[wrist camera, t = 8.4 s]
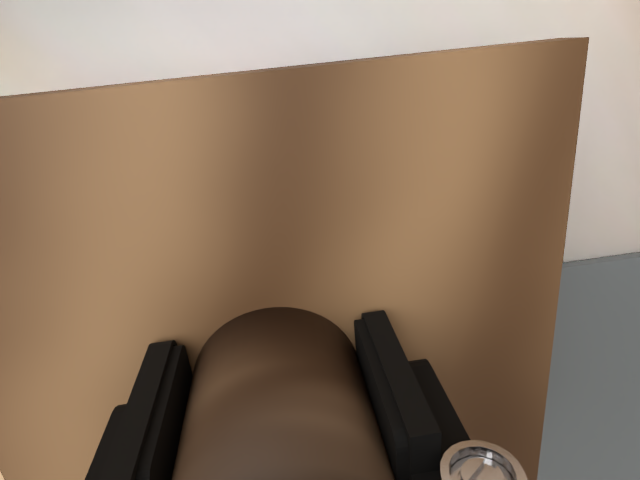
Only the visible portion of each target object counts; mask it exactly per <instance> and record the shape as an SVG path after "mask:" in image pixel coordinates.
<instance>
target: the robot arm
mask: <svg viewBox="0 0 640 480" xmlns="http://www.w3.org/2000/svg"><path fill="white" fill-rule="evenodd" d="M354 332H355V345H356V354H357V357H358V361H359V364H360V367H361V370H362V374H363V377H364V380H365V383H366V386H367V390H368V393H369V396H370V399H371V403H372V406H373V409H374V412H375V415H376V419H377V422H378V425H379V428H380V432H381V435H382V438H383V441H384V445H385V448H386V451H387V454H388V457H389V461H390V464H391V467H392V470H393V474H394V477H395V480H528V479H527V477H526V474H525V471H524V470H523V468H522V466H521V464H520V463H519V461H518V460H517V459H516V458H515V457H514V456H513V455H512V454H511V453H510V452H508V451H507V450H505V449H503V448H502V447H500V446H498V445H496V444H493V443H490V442H487V441H479V440H470V438H469V436H468V434H467V432H466V430H465V428H464V426H463V425H462V423H461V421H460V419H459V417H458V415H457V413H456V411H455V409H454V408H453V406H452V404H451V402H450V400H449V398H448V396H447V394H446V393H445V391H444V389H443V387H442V385H441V383H440V381H439V379H438V377H437V376H436V374H435V372H434V370H433V368H432V366H431V364H430V363H429V361H428V360H427V359H420V360H413V361H408V359H407V357H406V355H405V353H404V351H403V349H402V347H401V344H400V342H399V340H398V338H397V336H396V334H395V332H394V329H393V327H392V325H391V323H390V321H389V319H388V317H387V314H386V312H385V311H384V310H380V311H373V312H366V313H362V314H361V319H359V320H354ZM192 377H193V375H192V371H191V367H190V363H189V359H188V355H187V351H186V348H185V346H184V345H178V346H177V343H176V341H175V340H170V341H163V342H156V343H151V344H149V346H148V348H147V351H146V354H145V356H144V359H143V362H142V364H141V367H140V370H139V372H138V375H137V378H136V380H135V383H134V386H133V388H132V391H131V394H130V396H129V399H128V402H127V404H122V405H117V406H116V407H115V408H114V410H113V411H112V413H111V416H110V418H109V421H108V423H107V426H106V428H105V431H104V433H103V436H102V438H101V440H100V443H99V445H98V448H97V450H96V453H95V455H94V458H93V460H92V463H91V465H90V468H89V470H88V473H87V475H86V477H85V480H171V479H172V474H173V469H174V464H175V459H176V454H177V450H178V445H179V440H180V435H181V430H182V425H183V420H184V416H185V411H186V406H187V401H188V396H189V391H190V386H191V382H192Z"/></svg>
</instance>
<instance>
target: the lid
mask: <svg viewBox="0 0 640 480" xmlns="http://www.w3.org/2000/svg"><path fill="white" fill-rule="evenodd" d="M588 43H589V37H584V38H555V39H546V40H536V41H527V42H517V43H508V44H498V45H488V46H479V47H469V48H460V49H450V50H441V51H431V52H421V53H412V54H402V55H393V56H383V57H374V58H364V59H354V60H345V61H335V62H326V63H316V64H307V65H297V66H288V67H278V68H268V69H259V70H249V71H240V72H230V73H221V74H211V75H201V76H192V77H182V78H173V79H163V80H154V81H144V82H134V83H125V84H115V85H106V86H96V87H87V88H77V89H67V90H58V91H48V92H39V93H29V94H20V95H10V96H0V471H1V473H2V475H3V477H4V479H5V480H85V477H86V475H87V473H88V470H89V468H90V465H91V463H92V460H93V458H94V455H95V453H96V450H97V448H98V445H99V443H100V440H101V438H102V436H103V433H104V431H105V428H106V426H107V423H108V421H109V418H110V416H111V413H112V411H113V410H114V408H115V407H116V406H117V405H122V404H127V402H128V399H129V396H130V394H131V391H132V388H133V386H134V383H135V380H136V378H137V375H138V372H139V370H140V367H141V364H142V362H143V359H144V356H145V354H146V351H147V348H148V346H149V344H151V343H156V342H163V341H170V340H175V341H176V343H177V346H178V345H184V346H185V348H186V351H187V355H188V359H189V363H190V367H191V371H192V375H193V377H192V382H191V386H190V391H189V396H188V401H187V406H186V411H185V416H184V420H183V425H182V430H181V435H180V440H179V445H178V450H177V454H176V459H175V464H174V469H173V474H172V479H171V480H395V477H394V474H393V470H392V467H391V464H390V461H389V457H388V454H387V451H386V448H385V445H384V441H383V438H382V435H381V432H380V428H379V425H378V422H377V419H376V415H375V412H374V409H373V406H372V403H371V399H370V396H369V393H368V390H367V386H366V383H365V380H364V377H363V374H362V370H361V367H360V364H359V361H358V357H357V354H356V345H355V332H354V320H359V319H361V314H362V313H366V312H373V311H380V310H384V311H385V312H386V314H387V317H388V319H389V321H390V323H391V325H392V327H393V329H394V332H395V334H396V336H397V338H398V340H399V342H400V344H401V347H402V349H403V351H404V353H405V355H406V357H407V359H408V361H413V360H420V359H427V360H428V361H429V363H430V364H431V366H432V368H433V370H434V372H435V374H436V376H437V377H438V379H439V381H440V383H441V385H442V387H443V389H444V391H445V393H446V394H447V396H448V398H449V400H450V402H451V404H452V406H453V408H454V409H455V411H456V413H457V415H458V417H459V419H460V421H461V423H462V425H463V426H464V428H465V430H466V432H467V434H468V436H469V438H470V440H479V441H487V442H490V443H493V444H496V445H498V446H500V447H502V448H503V449H505V450H507V451H508V452H510V453H511V454H512V455H513V456H514V457H515V458H516V459H517V460H518V461H519V463H520V464H521V466H522V468H523V470H524V471H525V474H526V477H527V479H528V480H537V475H538V467H539V458H540V450H541V441H542V433H543V424H544V416H545V408H546V399H547V391H548V382H549V374H550V365H551V357H552V348H553V340H554V331H555V323H556V314H557V306H558V297H559V289H560V280H561V272H562V263H563V255H564V246H565V238H566V229H567V221H568V212H569V204H570V195H571V187H572V178H573V170H574V161H575V153H576V144H577V136H578V127H579V119H580V111H581V102H582V94H583V85H584V77H585V68H586V60H587V51H588Z"/></svg>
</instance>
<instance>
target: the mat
mask: <svg viewBox="0 0 640 480" xmlns="http://www.w3.org/2000/svg"><path fill="white" fill-rule="evenodd" d="M537 480H640V252H637V253H630V254H623V255H616V256H609V257H602V258H595V259H587V260H580V261H573V262H566V263H562V272H561V280H560V289H559V297H558V306H557V314H556V323H555V331H554V340H553V348H552V357H551V365H550V374H549V382H548V391H547V399H546V408H545V416H544V424H543V433H542V441H541V450H540V458H539V467H538V475H537Z"/></svg>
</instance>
